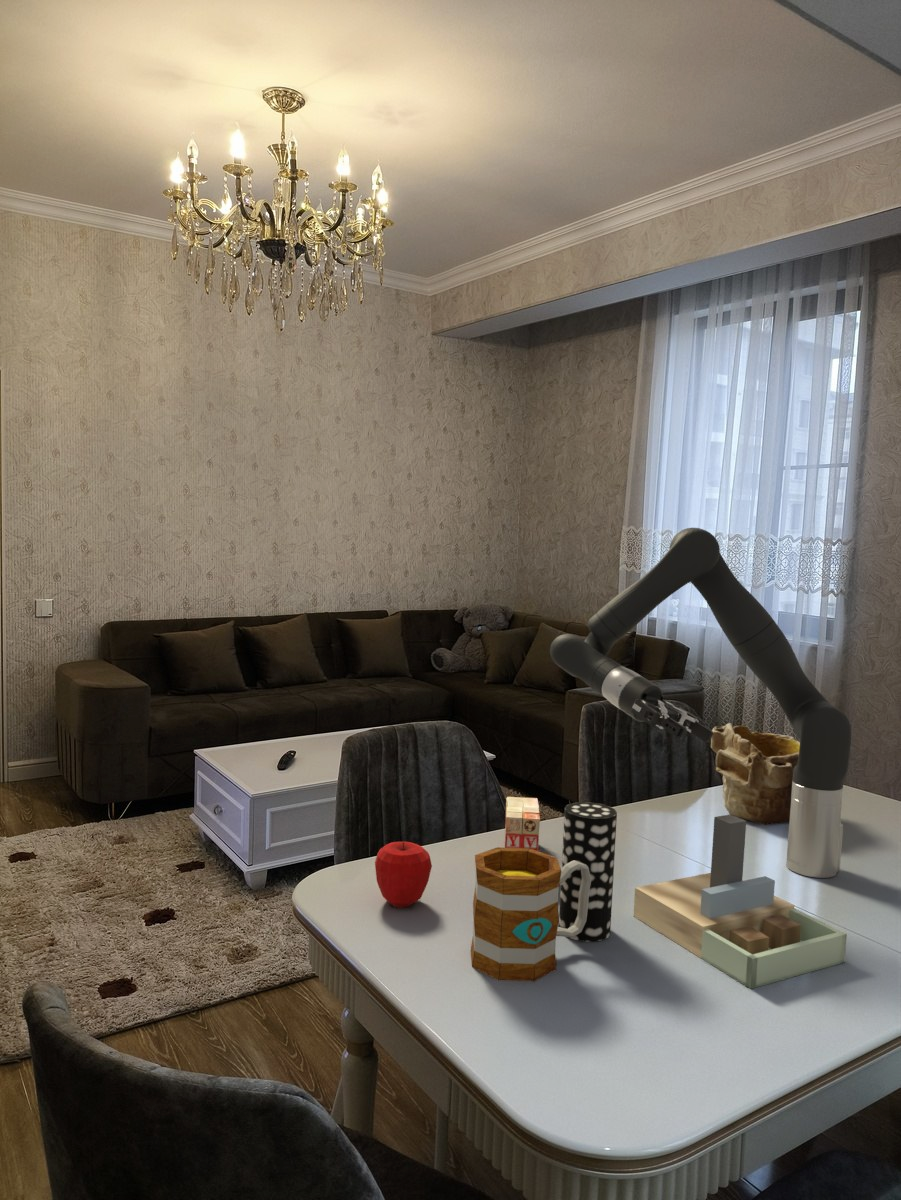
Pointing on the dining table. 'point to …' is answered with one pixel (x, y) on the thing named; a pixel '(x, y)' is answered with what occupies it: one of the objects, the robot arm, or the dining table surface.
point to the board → (694, 912)
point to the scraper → (732, 873)
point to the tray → (778, 954)
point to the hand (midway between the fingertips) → (697, 735)
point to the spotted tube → (594, 846)
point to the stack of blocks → (522, 823)
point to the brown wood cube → (781, 931)
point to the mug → (521, 912)
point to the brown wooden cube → (749, 939)
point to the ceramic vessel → (755, 772)
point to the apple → (402, 872)
